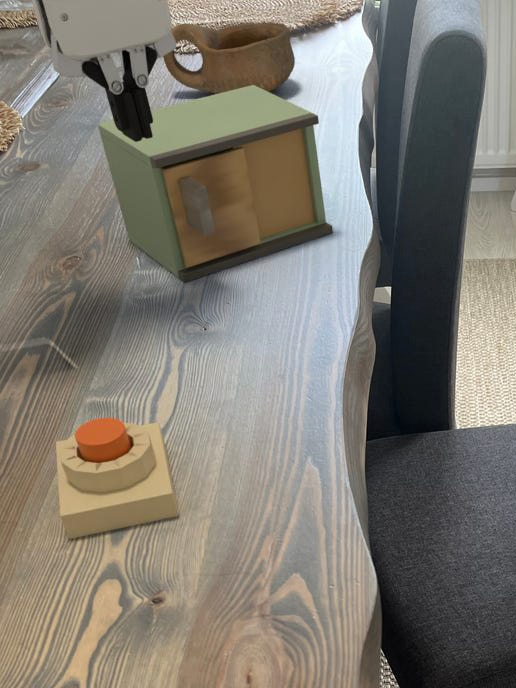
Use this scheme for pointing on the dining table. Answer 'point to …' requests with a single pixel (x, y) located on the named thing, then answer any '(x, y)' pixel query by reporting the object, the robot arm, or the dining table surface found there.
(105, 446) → the light button
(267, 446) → the dining table surface
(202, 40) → the brown clay cup
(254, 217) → the cupboard door
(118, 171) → the cupboard
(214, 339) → the dining table surface
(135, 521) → the switch block
